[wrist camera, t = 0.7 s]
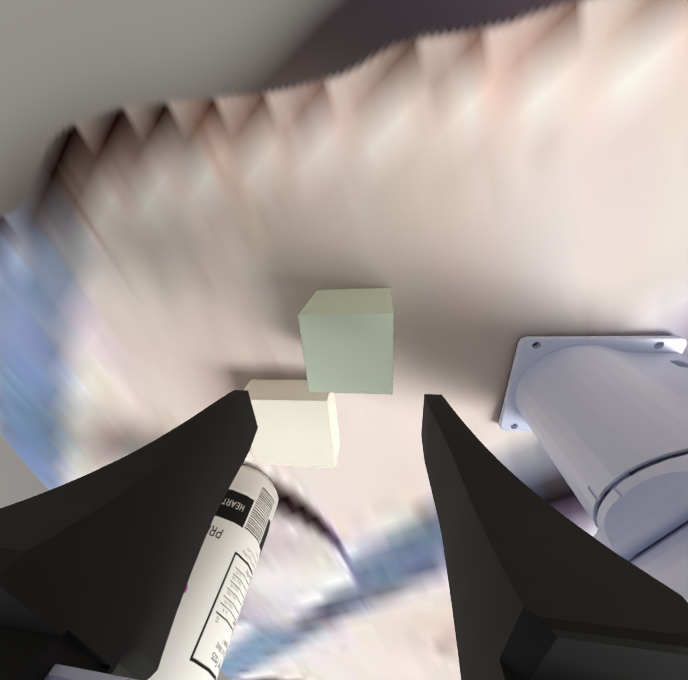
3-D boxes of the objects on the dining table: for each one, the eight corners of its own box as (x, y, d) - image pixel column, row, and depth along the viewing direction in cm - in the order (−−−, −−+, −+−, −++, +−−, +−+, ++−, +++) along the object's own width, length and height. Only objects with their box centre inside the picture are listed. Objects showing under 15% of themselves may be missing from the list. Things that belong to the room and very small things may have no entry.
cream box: (333, 377, 22) (327, 400, 19) (340, 440, 25) (335, 468, 22) (252, 377, 23) (236, 399, 20) (268, 437, 26) (256, 464, 23)
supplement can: (252, 518, 32) (160, 741, 19) (194, 479, 30) (44, 698, 17) (295, 492, 29) (221, 739, 15) (233, 447, 27) (87, 685, 13)
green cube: (390, 287, 18) (393, 313, 14) (389, 352, 20) (392, 394, 16) (317, 289, 19) (297, 315, 14) (324, 352, 21) (308, 392, 16)
